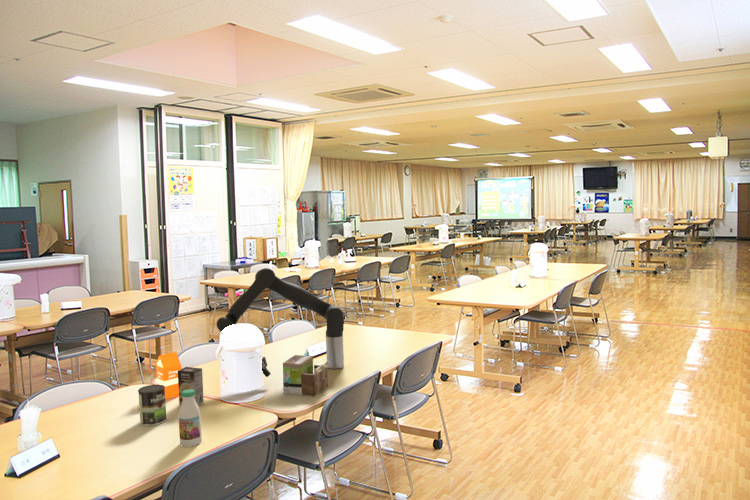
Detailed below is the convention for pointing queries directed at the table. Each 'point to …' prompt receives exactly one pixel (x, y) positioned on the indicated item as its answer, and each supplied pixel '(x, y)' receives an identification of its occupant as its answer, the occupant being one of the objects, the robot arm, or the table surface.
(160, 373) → the orange juice
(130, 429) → the table surface
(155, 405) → the coffee can
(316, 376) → the display stand
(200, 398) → the coffee box
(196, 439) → the milk bottle
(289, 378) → the tea box
